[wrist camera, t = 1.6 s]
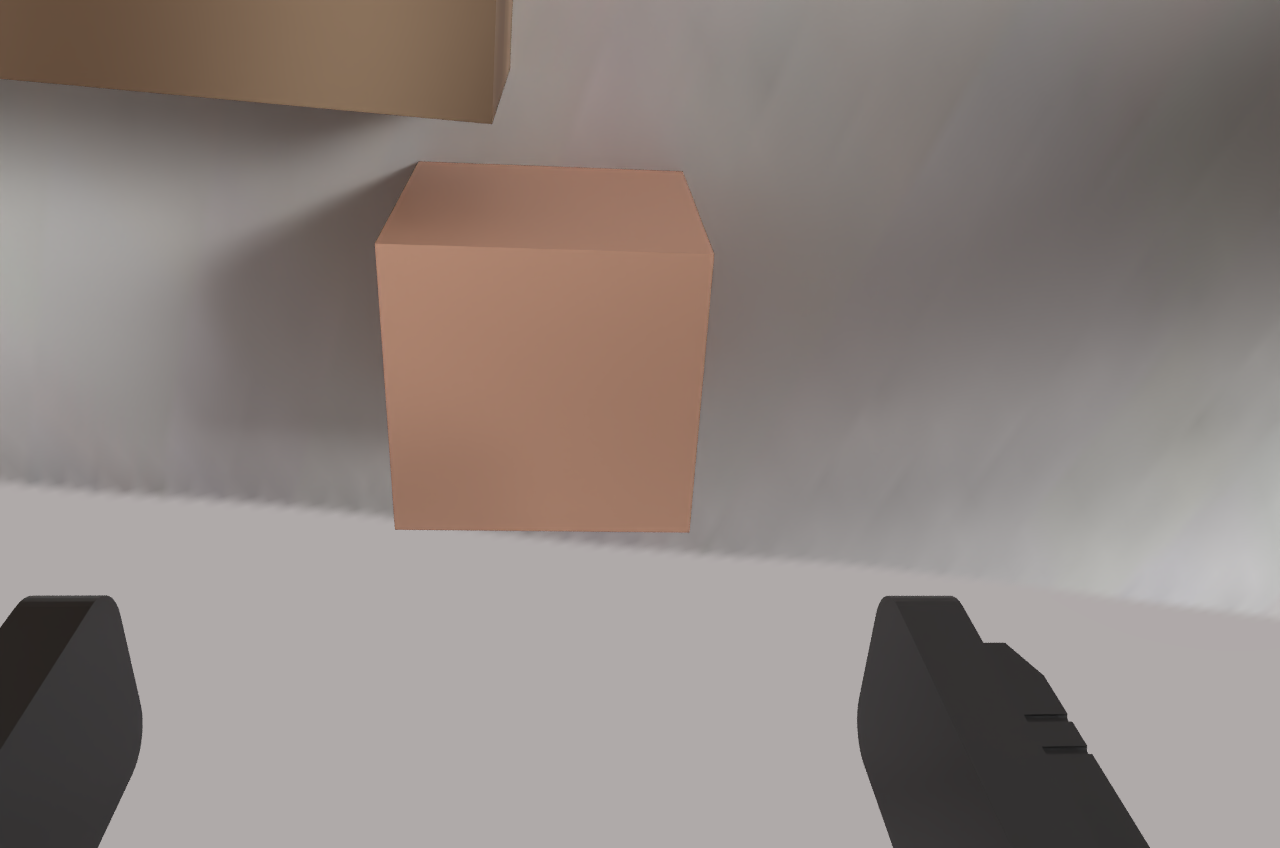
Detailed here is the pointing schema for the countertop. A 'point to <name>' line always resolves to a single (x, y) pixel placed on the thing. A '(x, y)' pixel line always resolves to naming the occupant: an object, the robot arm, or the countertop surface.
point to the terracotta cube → (543, 347)
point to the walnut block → (272, 51)
